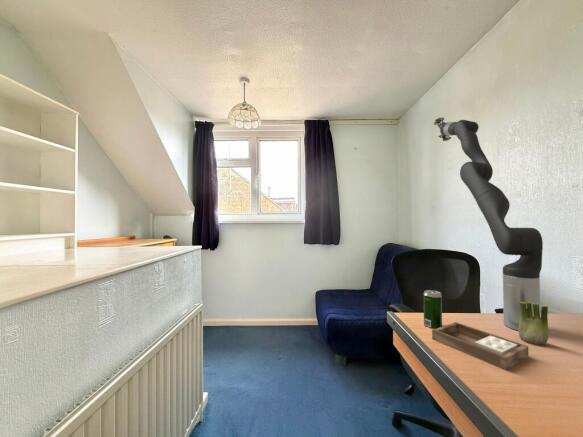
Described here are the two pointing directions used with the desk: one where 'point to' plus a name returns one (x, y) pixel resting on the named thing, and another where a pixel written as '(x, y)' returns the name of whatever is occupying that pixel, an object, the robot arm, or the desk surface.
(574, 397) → the desk surface
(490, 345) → the egg carton
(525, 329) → the fennel bulb
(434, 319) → the beer can
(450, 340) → the crate
